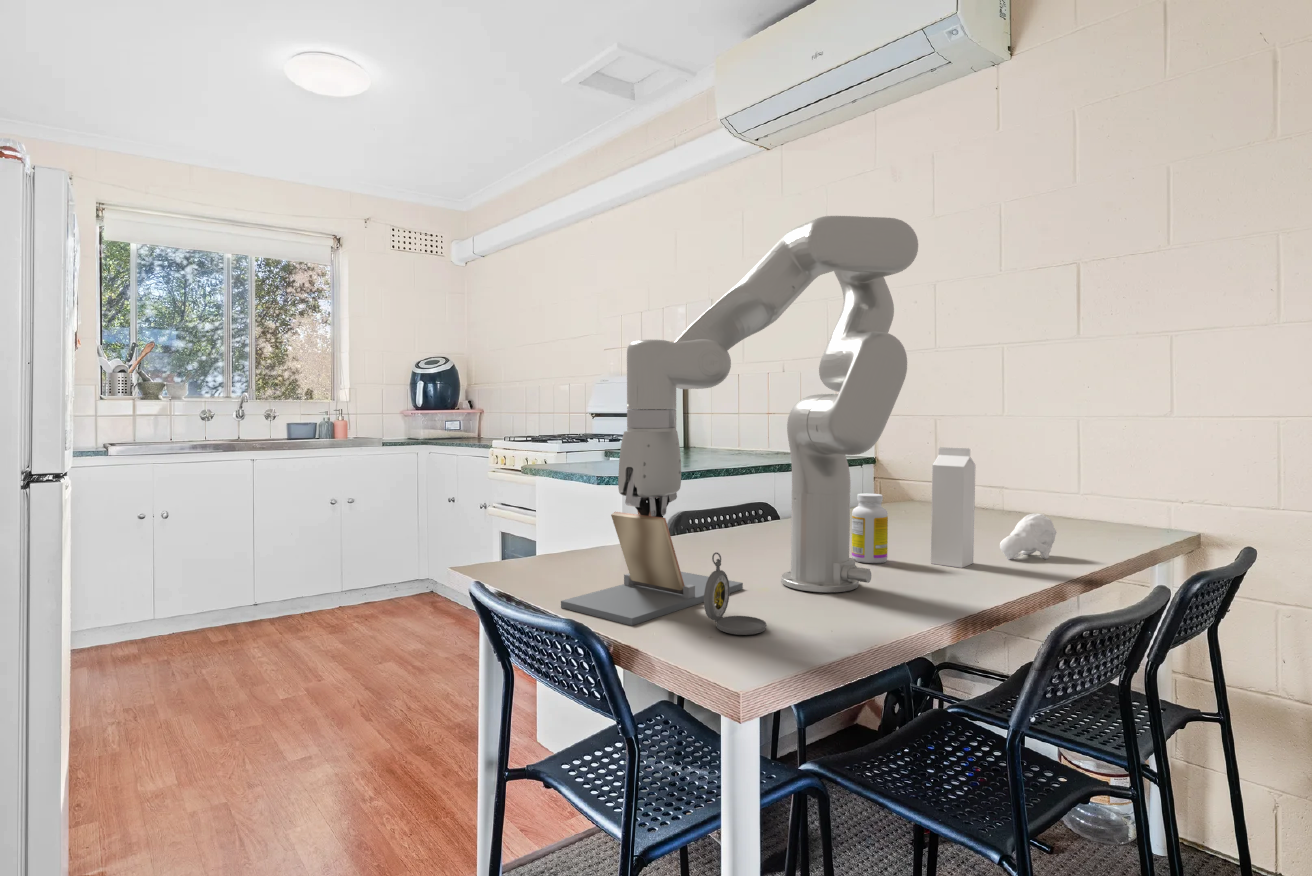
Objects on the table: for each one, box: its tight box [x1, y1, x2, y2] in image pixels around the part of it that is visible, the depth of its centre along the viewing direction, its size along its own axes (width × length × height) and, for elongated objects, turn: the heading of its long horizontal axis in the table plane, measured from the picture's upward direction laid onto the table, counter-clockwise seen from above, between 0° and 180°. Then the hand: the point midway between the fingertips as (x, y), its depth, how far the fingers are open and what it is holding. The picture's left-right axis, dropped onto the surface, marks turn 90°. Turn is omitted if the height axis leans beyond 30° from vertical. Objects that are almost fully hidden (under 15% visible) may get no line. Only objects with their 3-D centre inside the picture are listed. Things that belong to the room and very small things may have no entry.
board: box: [560, 571, 744, 627], centre depth 116 cm, size 14×27×3 cm, turn 140°
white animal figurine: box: [999, 513, 1058, 561], centre depth 148 cm, size 6×8×12 cm
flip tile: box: [610, 511, 685, 595], centre depth 115 cm, size 10×13×1 cm
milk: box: [930, 446, 976, 569], centre depth 142 cm, size 6×6×22 cm
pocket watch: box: [703, 552, 768, 636], centre depth 100 cm, size 8×8×10 cm
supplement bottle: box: [851, 492, 889, 564], centre depth 145 cm, size 7×7×13 cm
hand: (652, 541), depth 115 cm, fingers closed
